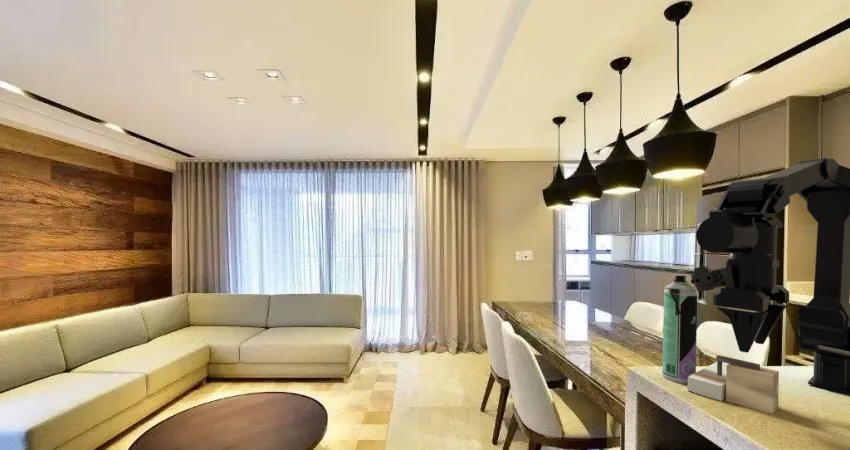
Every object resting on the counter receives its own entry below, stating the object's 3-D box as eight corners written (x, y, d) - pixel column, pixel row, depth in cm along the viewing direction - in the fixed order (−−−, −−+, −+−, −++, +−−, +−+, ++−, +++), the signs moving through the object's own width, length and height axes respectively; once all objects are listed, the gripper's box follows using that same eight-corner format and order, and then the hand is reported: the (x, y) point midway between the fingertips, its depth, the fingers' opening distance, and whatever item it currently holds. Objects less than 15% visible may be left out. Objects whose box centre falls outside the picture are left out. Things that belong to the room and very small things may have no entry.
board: (720, 371, 82) (720, 358, 82) (751, 379, 78) (751, 365, 78) (687, 391, 71) (687, 376, 71) (721, 401, 67) (721, 385, 67)
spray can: (697, 385, 73) (699, 277, 74) (662, 379, 76) (664, 275, 76) (694, 377, 78) (696, 275, 78) (661, 371, 81) (664, 273, 81)
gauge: (720, 391, 71) (720, 353, 71) (778, 408, 65) (778, 366, 65) (712, 396, 69) (713, 357, 69) (772, 414, 62) (772, 370, 62)
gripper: (715, 251, 78) (713, 330, 78) (678, 251, 67) (675, 344, 67) (790, 254, 70) (789, 344, 69) (763, 255, 58) (760, 362, 58)
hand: (751, 347), depth 66 cm, fingers open, 9 cm apart
